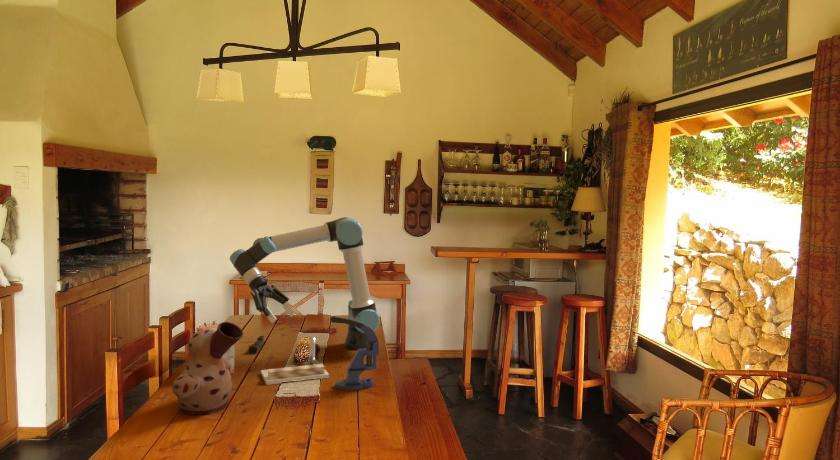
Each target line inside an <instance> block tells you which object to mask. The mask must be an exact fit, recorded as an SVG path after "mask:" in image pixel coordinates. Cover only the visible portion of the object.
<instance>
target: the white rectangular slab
mask: <svg viewBox="0 0 840 460" xmlns="http://www.w3.org/2000/svg"><path fill="white" fill-rule="evenodd" d="M260 375H261V377H262V379H263V382H264V383H265V385H266V386H271V385H277V384H283V383H282V382H283V381H292V380H301V379H313V378H320V379H319V380H324V379H330V374H329V372H328V371H327V370H326V369H325V374H318V375H309V376H300V377H291V378H282V379H272V380H270V379H269V377H268V369H262V370H260Z"/></svg>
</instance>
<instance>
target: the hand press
mask: <svg viewBox="0 0 840 460" xmlns="http://www.w3.org/2000/svg"><path fill="white" fill-rule="evenodd" d="M329 320H330V322H331V323H336V324H346V325H348V324H349V325H353V326H356V327H357V328H359V329H361V330H362V331H364V333H365V334H366V335H367V336H368V338H369V339H370V341H371V342H372V343H371V342H370V341H369V342H367V348H365V349H358V350H357V349H356V353H355V354H354V356H353V358H352V359H351V362H350V363H349V365H348V367H347V369H346V377H345V378H344V379H339V380H337V381H334V389H336V390H339V391H340V390H341V391H362V390H363V389H370V388H373V387H374V386H375V385H374V384H375V381H374V379H372V378H366V377H365V378H362V379H360V375H361V374H362V373H363V372H365V371H372V370H375V369H377V368H378V356H379V347H380V346H379V345H380V344H379V339H378V336H377V334H376V333H375V331H373V330H372V329H371V328H369V327H368V326H366V325H364V324H363V323H360V322H357V321H354V320H350V319H348V318H344V317H339V316H335V315H334V316H331V317H330V319H329ZM364 358H365V359H366V360H365V361H366V362H365V363H364Z"/></svg>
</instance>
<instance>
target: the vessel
mask: <svg viewBox="0 0 840 460" xmlns="http://www.w3.org/2000/svg"><path fill="white" fill-rule="evenodd" d="M218 324H219V325H218V328H217V330H216V332H215V331H214V330H211V329H205V330H201V331H198V332H197V331H195V332H194V333H193V334H192V335H191V336H190V338H189V340H188V343H187V350H188V352H189V353H190V355H191V356H190V359H189V361H188V362H187V364H185V365H186V366H185V367H184V368H183V370H182V372H181V373H180V375H179V376H177V377H176V378H175V379H174V381H173V382H172V386H171V389H172V394H174V395H175V396H176V398H177V401H178V403H179V406H178V409H179V412H180V413H182V414H185V415H198V416H199V415H207V414H209V415H210V414H214V413H217V412H219V411H222V410H223V409H225V408H226V407H227V406H228V405H229V399H228V398H229V396H230V395H231V392H232V389H233V379H232V375H230V372H229V371H230V369H231V364H230V362H229V360H228V358H227V357H226V356H223V355H224V354H225V352H226V351H227V350H228V349H229V348H230V347H231V346H233V345H234V344H235V345H236V343H237V342H238V341H240V340H241V339H242V338H243V337H244V332H243V330H242V328H241V327H240V326H238V325H237V324H235V323H233V322H230V321H224V322H223V321H222V322H220V323H218Z"/></svg>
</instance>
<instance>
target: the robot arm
mask: <svg viewBox="0 0 840 460" xmlns="http://www.w3.org/2000/svg"><path fill="white" fill-rule="evenodd" d="M363 234H364V231H363V227H362V225H361V224H360V222H359V221H358V220H356V219H354V218H351V217H346V216H344V217H340V218H337V219H335V220H331V221H328V222H326V221H325V223H323V225H317V226H314V227H309V228H304V229H299V230H295V231H290V232H286V233H281V234H280V233H279V234H276V235H272V236H271V235H270V236H267V235H266V236H264V237H258V238H256V239H255V240H254V241H253V243H252V245H251V246H250V247H249V248H247V249H246V250H245V249H243V248H239V249H237V250H235V251H233V252H232V253H231V255H230V256H229V261H230V263H231V264H232V266H233V268H234V269H235V270H236V271H237V273H239V275H240V276H241V278H243V280H244V282H245V283H246V284H247V285H248V287H249V288H250V290H251V292H250V294H251V296H252V299H253V302H254V305H255V308H256V311H258V312H260V313H263V314H264V315H265V317H267V319H268V320H269V322H270V323H271V324H274V323H275V321H277V317H276V316H275V315H274V313H273V312H272V311H271V309H270V307H268V306H267V302H266V299H273V300H274V301H276V302H278V303H280V304H281V305H282V307H283V309H284V310H285V312H286V313H287V315H289V317H290V318H292V317H293V316H294V315H295V314H296V312H295V310H294V309H293V308H292V306H291V305H290V303H289V300H290V298H289V297H287V296H286V294H284V293H282V292H281V291H280V290H279V289H278V288H277V287H275V285H273V284H272V285H270V286H269V284H268V280H267V278H265V276H264V275H263V273H262V272H261V270H259V268H258V267H257V264H258V263H259V262H260V263H261V261H262V260H264V259H266V258H267V257H268V256H270V255H271V254H272V253H276V252H280V251H285V250H289V249H290V250H291V249H295V248H299V247H304V246H309V245H312V244H313V245H314V244H317V243H322V242H329V243H332V242H337V247H338V250H339V251H340V252H341V253H342V255H343V261H344V265H345V270H346V275H347V279H348V286H349V290H350V291H349V292H350V295H351V299H350V300H349V301H348V304H347V307H348V309H347V311H348V312H347V313H348V315H347V316H348V317H347V319H350V320H354V321H357V322H360V323H363V324H364V325H366V326H368V327H369V328H371V329H372V330H373V331H374V332H375V331H376V330H377V329H378V327H379V326H380V322H381V320H380V315H379V313H378V312H377V307H376V301H375V300H374V299H372V298H371V294H370V293H371V292H370V288H369V283H368V277H367V272H366V268H365V267H366V266H365V262H364V258H363V257H364V255H363V251H362V248H363V247H364V246H365V245H364V240H363ZM369 341H370V339H369V338H368V336H367V335H366V334H365V333H364V331H362V330H361V329H359V328H357V327H356V326H353V325H349V324H347V332H346V334H345V338H344V341H343V346H344V347H345V348H347V349H349V350H356V351H357V350H358V349H365V348H367V342H369ZM370 342H371V341H370ZM371 343H372V342H371Z"/></svg>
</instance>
